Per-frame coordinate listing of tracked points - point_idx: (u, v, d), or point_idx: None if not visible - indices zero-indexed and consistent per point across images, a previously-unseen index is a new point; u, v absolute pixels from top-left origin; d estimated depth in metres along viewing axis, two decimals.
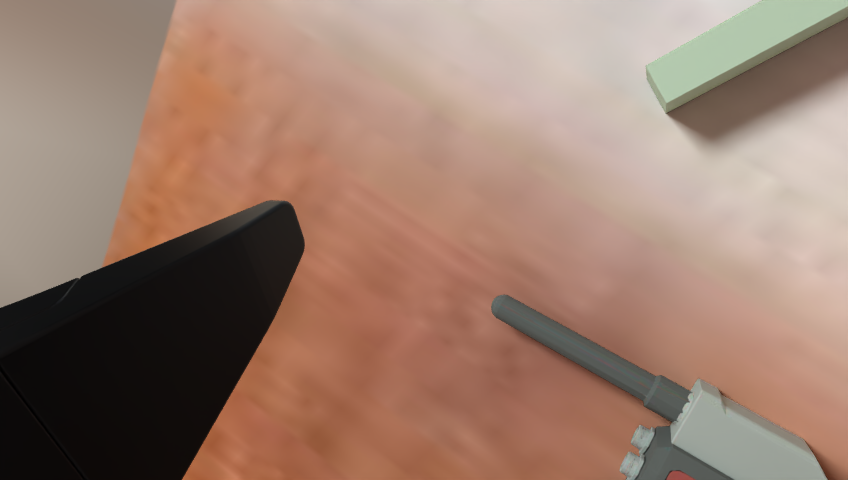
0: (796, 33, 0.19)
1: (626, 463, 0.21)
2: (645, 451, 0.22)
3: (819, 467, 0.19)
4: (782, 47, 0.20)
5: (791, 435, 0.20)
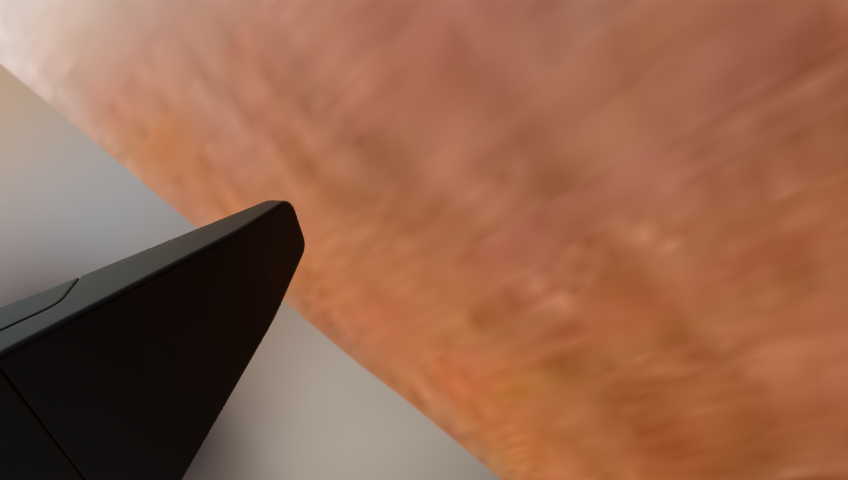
0: None
1: None
2: None
3: None
4: None
5: None
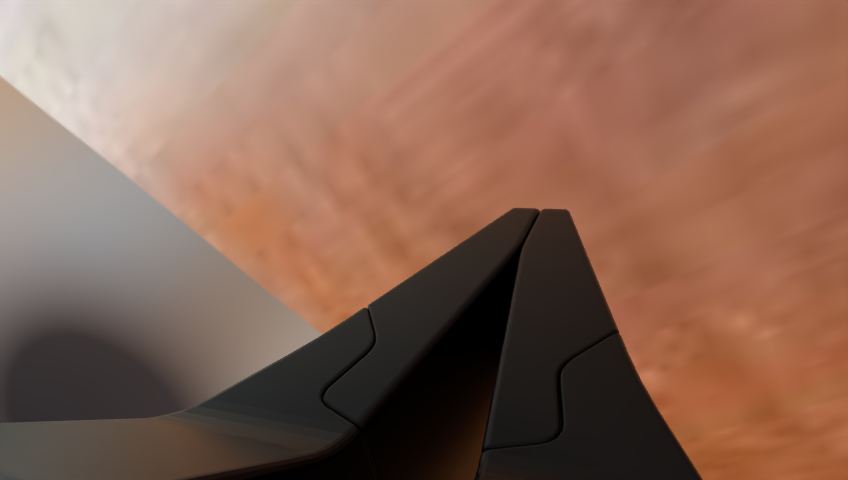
0: None
1: None
2: None
3: None
4: None
5: None
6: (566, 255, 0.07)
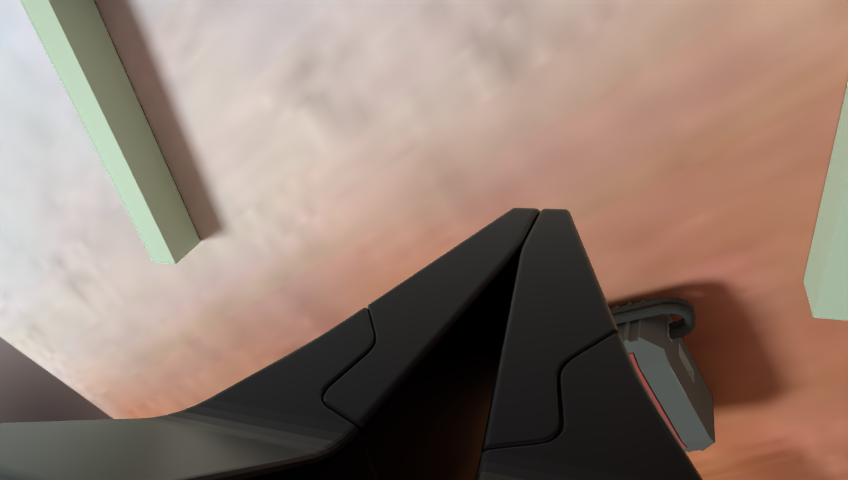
0: (139, 188, 0.27)
1: None
2: None
3: None
4: (158, 180, 0.28)
5: None
6: (566, 255, 0.07)
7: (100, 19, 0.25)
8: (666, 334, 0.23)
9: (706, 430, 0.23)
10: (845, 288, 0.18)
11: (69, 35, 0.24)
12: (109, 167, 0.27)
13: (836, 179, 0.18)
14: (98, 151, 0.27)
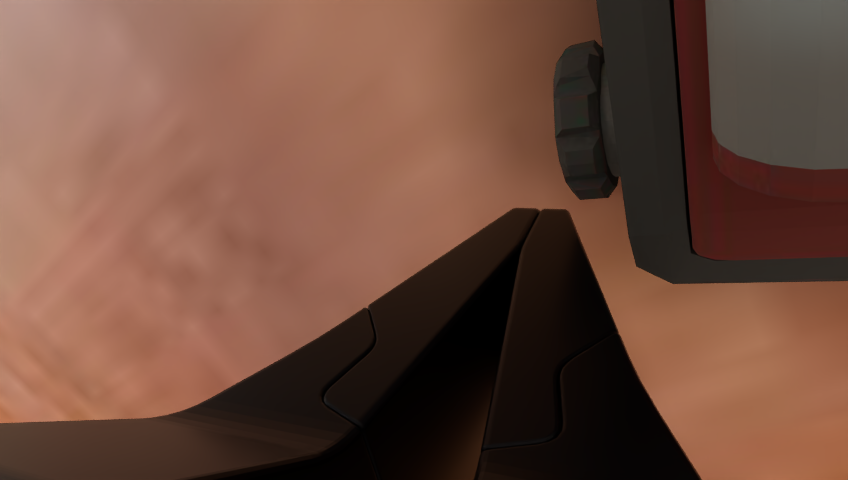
0: None
1: None
2: None
3: None
4: None
5: None
6: (566, 255, 0.07)
7: None
8: None
9: None
10: None
11: None
12: None
13: None
14: None
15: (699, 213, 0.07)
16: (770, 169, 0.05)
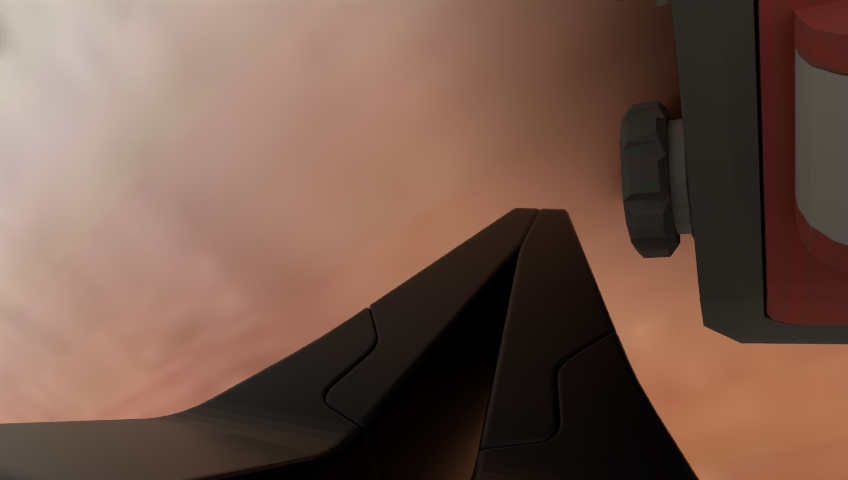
0: None
1: None
2: None
3: None
4: None
5: None
6: (564, 255, 0.07)
7: None
8: None
9: None
10: None
11: None
12: None
13: None
14: None
15: (777, 281, 0.07)
16: None
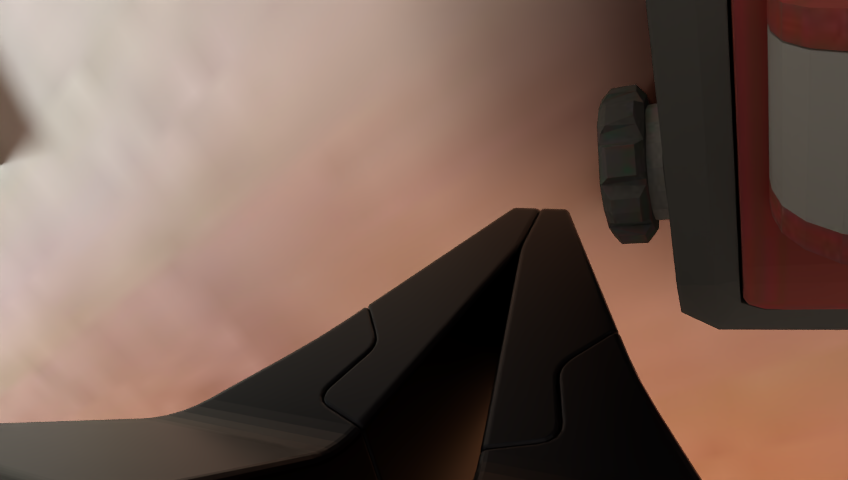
0: None
1: None
2: None
3: None
4: None
5: None
6: (566, 255, 0.07)
7: None
8: None
9: None
10: None
11: None
12: None
13: None
14: None
15: (752, 266, 0.07)
16: (842, 238, 0.05)
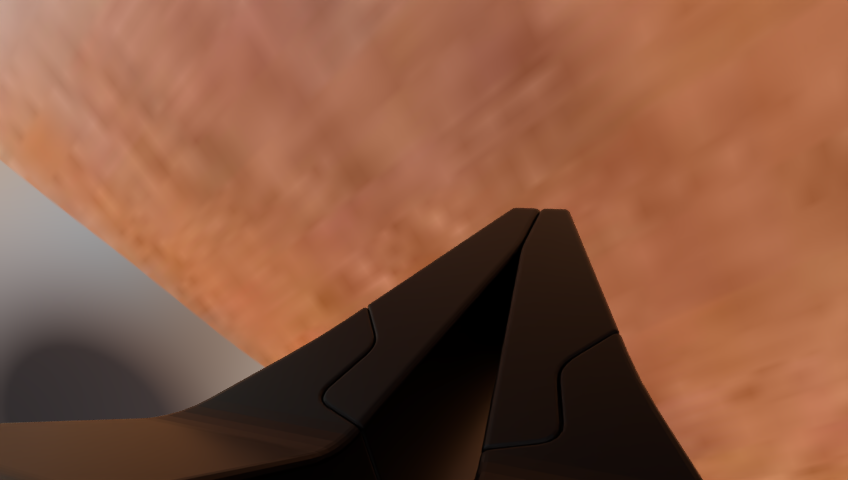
0: None
1: None
2: None
3: None
4: None
5: None
6: (566, 255, 0.07)
7: None
8: None
9: None
10: None
11: None
12: None
13: None
14: None
15: None
16: None
